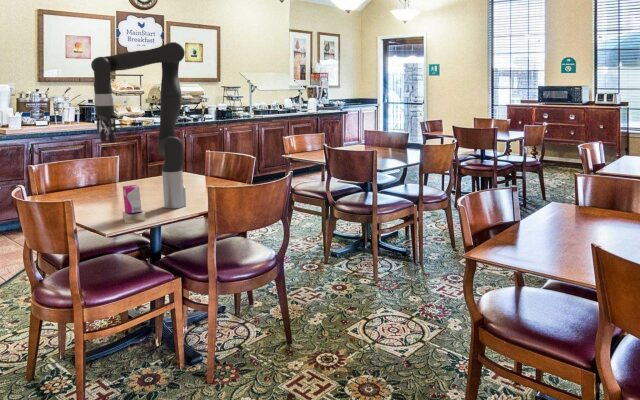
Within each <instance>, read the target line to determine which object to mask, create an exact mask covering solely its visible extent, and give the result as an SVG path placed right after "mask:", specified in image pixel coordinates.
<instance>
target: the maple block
mask: <svg viewBox="0 0 640 400" xmlns="http://www.w3.org/2000/svg"><path fill="white" fill-rule="evenodd" d="M146 219H147V218H146V213H145V212H144V211H143V210H142V213H135V214H129V215H128V214H127V213H126V212H125V211H122V220H123V222H125V223H126V224H129V223H130V224H131V223H137V222H138V223H139V222H146Z"/></svg>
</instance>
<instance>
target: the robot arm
mask: <svg viewBox="0 0 640 400" xmlns="http://www.w3.org/2000/svg"><path fill="white" fill-rule="evenodd" d="M185 55H186V54H185V48H184V47H183V46H182V44H181V43H178V42H175V41H172V42H168V43H165V44H164V45H162V46H159V47H155V48H150V49H145V50H135V51H129V52H122V53H117V54H114V55H108V56H97V57H95V58H93V60H92V61H91V63H90V66H91V69H92V71H93V76H94V77H93V78H94V82H93V90H94V110H95V115H96V116H97V117H96V119H95V120H96V130H97V132H98V133H99V135H100V136H99V137H100V142H102V143H103V142H107V139H108V143H109V144H114V143H115V134H116V133H117V126H116V119H115V118H112V117H114V116H115V106H114V105H115V104H114V97H113V90H112V82H111V79H112V72H117V71H127V70H131V69H137V68H142V67H145V66H149V65H153V64H159V63H160V64H161V81H160V82H161V83H160V97H159V98H160V101H159V102H160V103H159V104H160V106H159V107H160V110H159V111H160V112H159V131H158V138H157V148H158V151H159V153H160V154H162V155H163V156H164V163H163V164H162V165H161V175H162V192H163V207H164V208H165V209H180V208H184V207H186V206H187V197H186V196H187V195H186V186H185V185H184V177H183V176H184V175H183V166H184V157H185V155H184V144H183V141H182V140H181V139H180V138H179V137H176V136H175V135H176V124H177V121H178V119H179V115H180V113H181V108H182V90H181V84H180V80H179V66H180V63H181V61H182V60H183V59H184V57H185ZM106 133H107V134H106ZM107 135H108V136H107Z"/></svg>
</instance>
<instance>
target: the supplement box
mask: <svg viewBox="0 0 640 400" xmlns="http://www.w3.org/2000/svg"><path fill="white" fill-rule="evenodd" d="M122 195H123V204H124V212H126V213H127V214H128V215H129V214H135V213H142V211H143V209H142V202H141V191H140V186H139V185H137V184H131V185H124V186H122Z"/></svg>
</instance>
